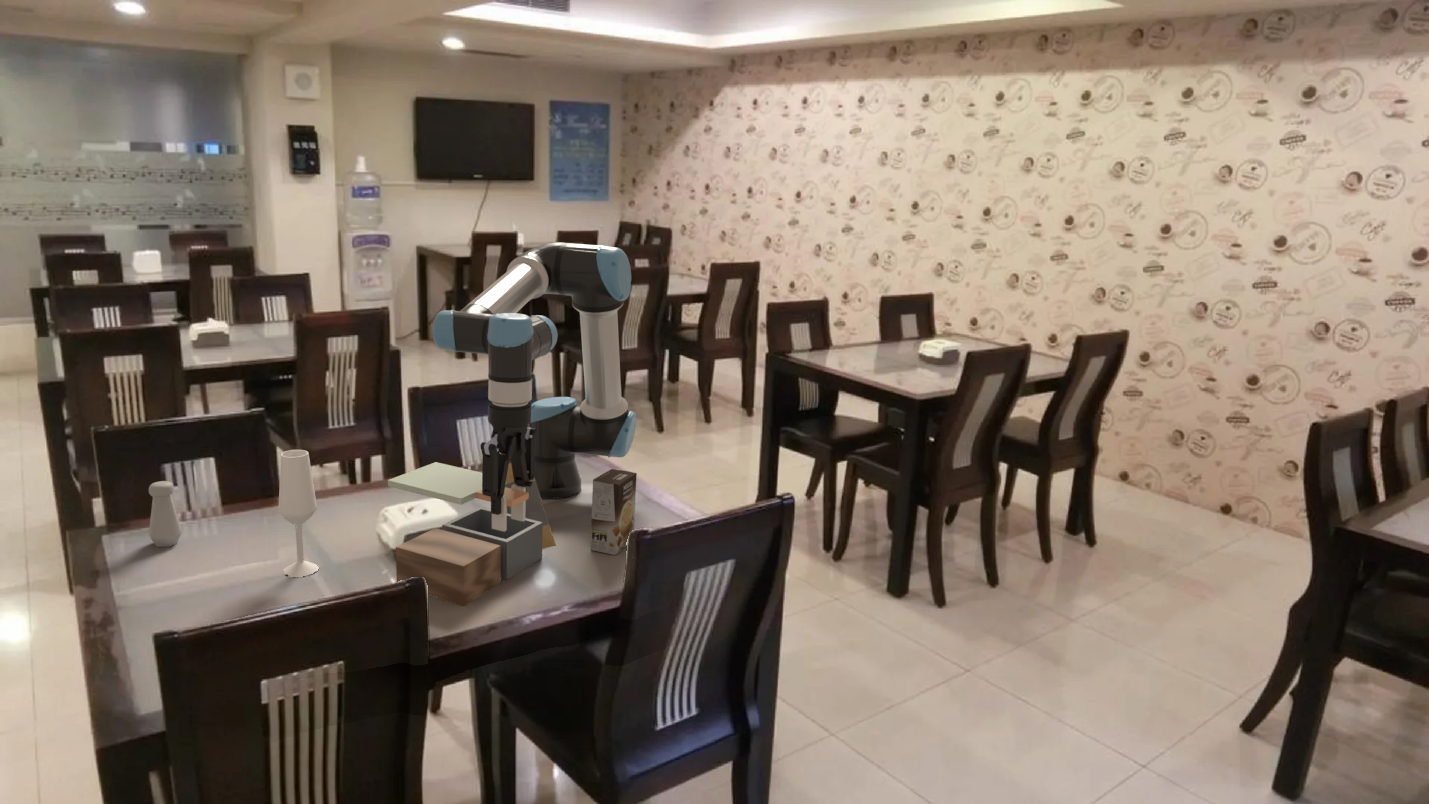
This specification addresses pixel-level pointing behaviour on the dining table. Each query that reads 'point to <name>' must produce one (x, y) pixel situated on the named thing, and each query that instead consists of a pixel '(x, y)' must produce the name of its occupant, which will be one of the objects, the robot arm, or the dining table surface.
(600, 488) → the coffee box
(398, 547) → the stand
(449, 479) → the lid
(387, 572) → the dining table surface
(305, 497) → the champagne flute
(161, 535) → the salt shaker
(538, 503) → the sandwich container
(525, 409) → the robot arm
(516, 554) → the tub
